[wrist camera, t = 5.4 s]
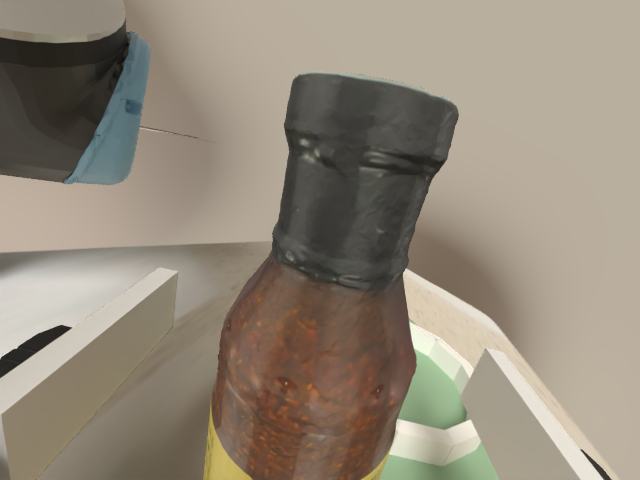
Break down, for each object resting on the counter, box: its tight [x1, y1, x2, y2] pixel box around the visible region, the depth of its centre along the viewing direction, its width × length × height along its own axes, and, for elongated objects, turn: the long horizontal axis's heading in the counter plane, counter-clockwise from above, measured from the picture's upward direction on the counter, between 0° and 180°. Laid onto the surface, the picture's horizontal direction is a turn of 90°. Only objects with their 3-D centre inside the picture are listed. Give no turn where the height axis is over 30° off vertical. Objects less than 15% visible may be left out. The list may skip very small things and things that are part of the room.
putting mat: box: [379, 319, 499, 480], centre depth 26 cm, size 18×18×3 cm
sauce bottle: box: [203, 72, 459, 480], centre depth 10 cm, size 6×6×20 cm
